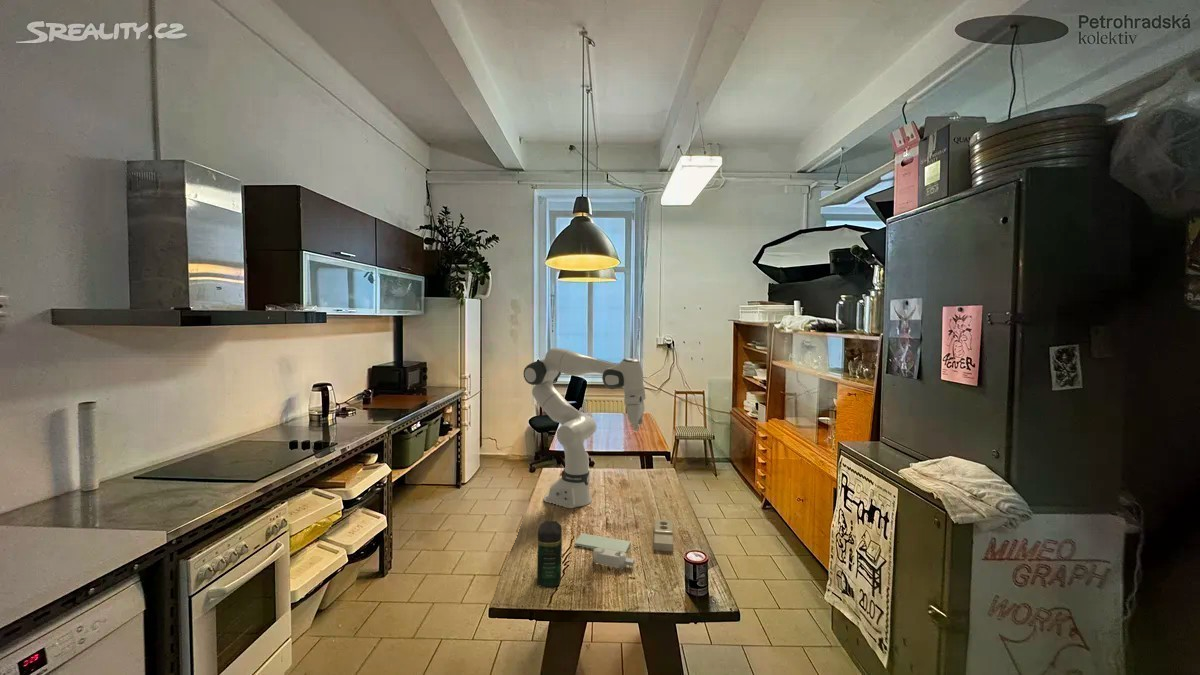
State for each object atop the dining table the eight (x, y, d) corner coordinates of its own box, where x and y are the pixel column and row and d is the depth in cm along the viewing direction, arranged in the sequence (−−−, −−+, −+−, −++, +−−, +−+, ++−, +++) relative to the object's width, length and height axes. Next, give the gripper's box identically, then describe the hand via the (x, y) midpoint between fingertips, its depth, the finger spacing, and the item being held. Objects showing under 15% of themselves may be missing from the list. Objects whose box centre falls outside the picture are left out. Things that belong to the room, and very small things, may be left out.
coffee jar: (560, 588, 142) (561, 532, 141) (535, 589, 142) (536, 532, 141) (562, 571, 152) (562, 518, 151) (538, 571, 152) (539, 518, 151)
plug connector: (591, 563, 157) (591, 552, 157) (595, 557, 161) (595, 546, 161) (632, 571, 153) (632, 559, 153) (634, 565, 157) (635, 554, 156)
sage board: (574, 545, 169) (574, 542, 169) (581, 536, 177) (581, 533, 176) (625, 555, 163) (625, 552, 163) (630, 544, 170) (630, 541, 170)
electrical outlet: (654, 540, 167) (654, 518, 185) (653, 550, 167) (654, 528, 185) (673, 541, 166) (672, 519, 184) (673, 552, 166) (672, 529, 184)
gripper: (632, 390, 202) (635, 420, 203) (623, 401, 183) (627, 434, 184) (645, 390, 201) (649, 419, 202) (638, 400, 181) (642, 433, 182)
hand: (638, 427), depth 193 cm, fingers open, 8 cm apart
